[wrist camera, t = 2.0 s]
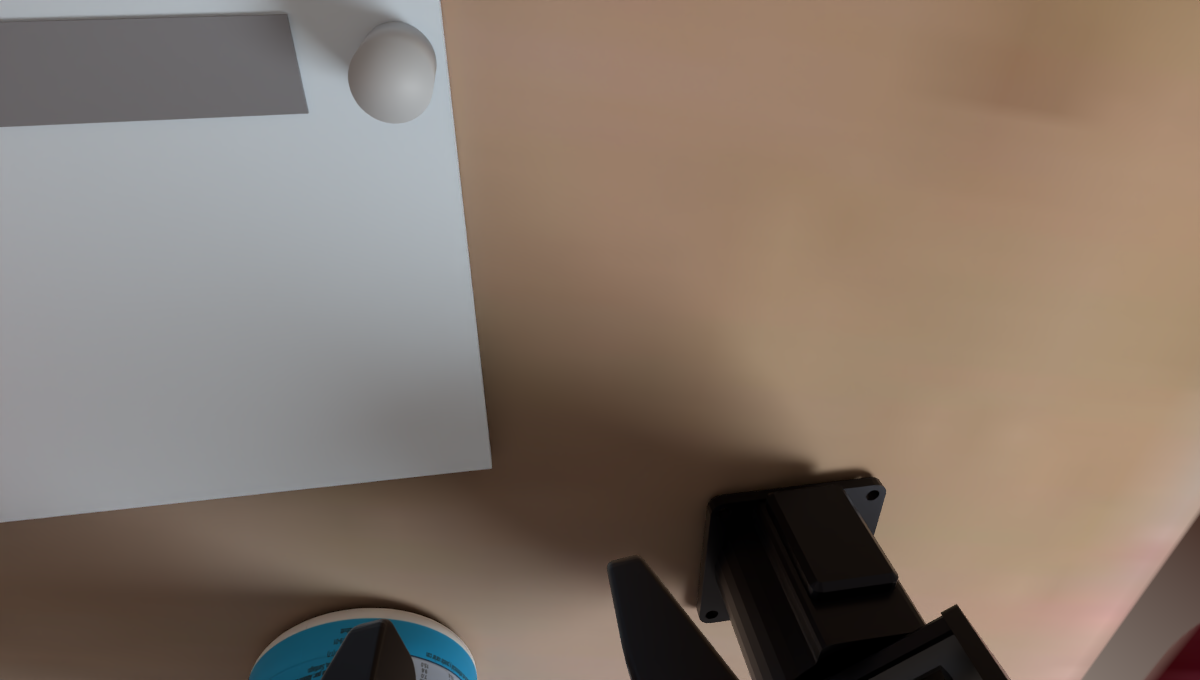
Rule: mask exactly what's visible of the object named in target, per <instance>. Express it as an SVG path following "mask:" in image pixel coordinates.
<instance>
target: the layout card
mask: <svg viewBox="0 0 1200 680" xmlns="http://www.w3.org/2000/svg"><path fill="white" fill-rule="evenodd" d="M483 469H492V458H491V448H490V439H489V430H488V421H487V412H486V403H485V394H484V385H483V377H482V368H481V359H480V350H479V341H478V332H477V323H476V314H475V305H474V296H473V288H472V279H471V270H470V261H469V252H468V243H467V234H466V225H465V216H464V207H463V199H462V190H461V181H460V172H459V163H458V154H457V145H456V136H455V127H454V119H453V110H452V101H451V92H450V83H449V74H448V65H447V56H446V47H445V38H444V30H443V21H442V12H441V3H440V0H0V523H1V522H10V521H19V520H28V519H38V518H47V517H56V516H65V515H74V514H83V513H92V512H101V511H110V510H119V509H128V508H137V507H147V506H156V505H165V504H174V503H183V502H192V501H201V500H210V499H219V498H228V497H237V496H247V495H256V494H265V493H274V492H283V491H292V490H301V489H310V488H319V487H328V486H337V485H346V484H356V483H365V482H374V481H383V480H392V479H401V478H410V477H419V476H428V475H437V474H446V473H456V472H465V471H474V470H483Z"/></svg>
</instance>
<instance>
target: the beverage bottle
mask: <svg viewBox="0 0 1200 680" xmlns="http://www.w3.org/2000/svg"><path fill="white" fill-rule="evenodd" d="M379 619H388V620H390V621H391V622H392V624H393V625H394V627H395V628H396V630H397V632H398V634H399V635H400V637H401V639H402V641H403V643H404V644H405V646H406V648H407V650H408V651H409V653H410V655H411V657H412V660H413V663H414V667H415V673H416V680H477V671H476V666H475V662H474V659H473V657H472V654H471V652H470V651H469V649H468V647H467V646H466V645H465V643H464V642H463V641H462V640H461V639H460V638H459V637H458V636H457V635H456V634H455V633H454V632H453V631H451V630H450V629H448V628H447V627H445V626H444V625H442V624H440V623H438V622H436V621H434V620H432V619H430V618H427V617H424V616H422V615H418V614H415V613H411V612H407V611H402V610H395V609H386V608H358V609H349V610H342V611H337V612H332V613H328V614H324V615H321V616H318V617H315V618H312V619H309V620H307V621H304V622H302V623H300V624H298V625H296V626H294V627H292V628H291V629H289V630H287V631H286V632H284V633H283V634H281V635H280V636H279V637H277V638H276V639H275V640H274V641H273V642H272V643H270V644H269V645H268V646H267V648H266V649H265V650H264V651H263V652H262V653H261V655H260V656H259V658H258V659H257V661H256V663H255V664H254V666H253V668H252V671H251V673H250V676H249V680H320V679H321V678H322V676H323V674H324V673H325V671H326V669H327V668H328V666H329V664H330V663H331V661H332V659H333V658H334V656H335V654H336V652H337V651H338V649H339V647H340V646H341V644H342V642H343V641H344V639H345V637H346V636H347V634H348V633H349V631H350V630H351V629H352V628H353V627H355V626H357V625H359V624H363V623H367V622H371V621H375V620H379Z"/></svg>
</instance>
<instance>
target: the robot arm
mask: <svg viewBox="0 0 1200 680" xmlns="http://www.w3.org/2000/svg"><path fill="white" fill-rule="evenodd" d="M885 495H886V489H885V488H884V486H883V485H882V483H881V482H880V481H879V479H877V478H874V477H869V478H861V479H852V480H844V481H836V482H827V483H819V484H811V485H802V486H794V487H786V488H777V489H769V490H761V491H752V492H744V493H735V494H727V495H721V496H717V497H715V498H713V499H712V500H711V501H710V502H709V503H708V506H707V514H706V523H705V533H704V542H703V551H702V561H701V570H700V580H699V589H698V599H697V612H698V615H699V618H700V620H701V621H702V622H705V623H714V622H721V621H728V620H730V621H731V623H732V626H733V629H734V632H735V634H736V637H737V640H738V643H739V645H740V648H741V651H742V654H743V657H744V659H745V662H746V665H747V668H748V670H749V673H750V676H751V679H752V680H1011V679H1010V678H1009V676H1008V675H1007V674H1006V672H1005V671H1004V669H1003V668H1002V666H1001V665H1000V664H999V662H998V661H997V659H996V658H995V657H994V655H993V654H992V652H991V651H990V650H989V648H988V647H987V646H986V644H985V643H984V641H983V640H982V639H981V637H980V636H979V634H978V633H977V632H976V630H975V629H974V627H973V626H972V625H971V623H970V622H969V620H968V619H967V618H966V616H965V615H964V614H963V612H962V611H961V609H960V608H959V607H958V605H957V604H956V605H954V606H952V607H950V608H948V609H946V610H945V611H943V612H941V614H942V616H941V617H939V618H937V619H935V620H933V621H931V622H929V623H928V624H926V623H925V622H924V620H923V618H922V617H921V615H920V614H919V612H918V610H917V609H916V607H915V606H914V604H913V602H912V601H911V599H910V598H909V596H908V594H907V593H906V591H905V590H904V588H903V586H902V585H901V583H900V582H899V580H898V574H897V572H896V571H895V569H894V568H893V566H892V564H891V563H890V561H889V560H888V558H887V556H886V555H885V553H884V552H883V550H882V548H881V547H880V545H879V544H878V542H877V540H876V539H875V537H874V533H875V529H876V526H877V522H878V519H879V516H880V512H881V509H882V505H883V502H884V498H885ZM721 509H724V510H721ZM720 510H721V511H720ZM607 572H608V577H609V582H610V588H611V593H612V598H613V603H614V608H615V613H616V618H617V623H618V628H619V633H620V638H621V643H622V648H623V652H624V656H625V660H626V664H627V668H628V672H629V675H630V679H631V680H739V679H738V678H737V676H736V675H735V674H734V673H733V671H732V670H731V669H730V668H729V666H728V665H727V664H726V663H725V661H724V660H723V659H722V657H721V656H720V655H719V654H718V652H717V651H716V650H715V649H714V647H713V646H712V645H711V644H710V642H709V641H708V640H707V639H706V637H705V636H704V635H703V633H702V632H701V631H700V630H699V628H698V627H697V626H696V625H695V623H694V622H693V621H692V620H691V618H690V617H689V616H688V615H687V613H686V612H685V611H684V609H683V608H682V607H681V606H680V604H679V603H678V602H677V601H676V599H675V598H674V597H673V596H672V594H671V593H670V592H669V591H668V589H667V588H666V587H665V585H664V584H663V583H662V582H661V580H660V579H659V578H658V577H657V575H656V574H655V573H654V572H653V570H652V569H651V568H650V567H649V565H648V564H647V563H646V561H645V560H644V559H643V558H642V557H640V556H638V555H633V556H629V557H625V558H621V559H617V560H613V561H611V562H609V564H608V565H607ZM320 680H416V673H415V667H414V663H413V660H412V657H411V655H410V653H409V651H408V650H407V648H406V646H405V644H404V643H403V641H402V639H401V637H400V635H399V634H398V632H397V630H396V628H395V627H394V625H393V624H392V622H391V621H390V620H388V619H379V620H375V621H371V622H367V623H363V624H359V625H357V626H355V627H353V628H352V629H351V630H350V631H349V633H348V634H347V636H346V637H345V639H344V641H343V642H342V644H341V646H340V647H339V649H338V651H337V652H336V654H335V656H334V658H333V659H332V661H331V663H330V664H329V666H328V668H327V669H326V671H325V673H324V674H323V676H322V678H321V679H320Z"/></svg>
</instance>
